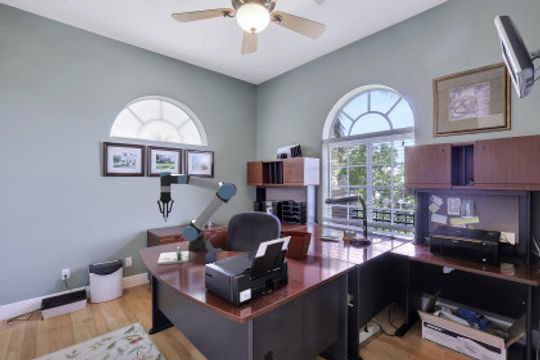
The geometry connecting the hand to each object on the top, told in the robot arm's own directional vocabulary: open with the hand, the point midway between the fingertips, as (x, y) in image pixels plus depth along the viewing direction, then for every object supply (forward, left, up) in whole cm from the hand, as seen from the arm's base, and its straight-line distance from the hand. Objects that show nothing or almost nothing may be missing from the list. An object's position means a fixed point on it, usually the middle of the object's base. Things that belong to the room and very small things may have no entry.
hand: (165, 221), depth 197 cm
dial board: (-7, +16, -24) cm, 30 cm away
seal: (-34, +34, -25) cm, 54 cm away
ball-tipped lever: (-10, +17, -23) cm, 30 cm away
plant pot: (-95, +35, -25) cm, 104 cm away
